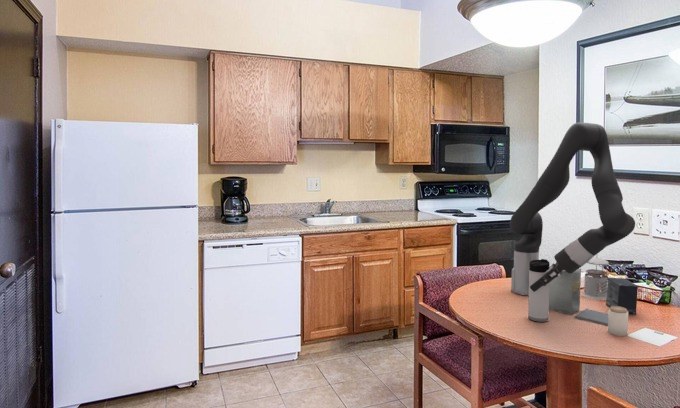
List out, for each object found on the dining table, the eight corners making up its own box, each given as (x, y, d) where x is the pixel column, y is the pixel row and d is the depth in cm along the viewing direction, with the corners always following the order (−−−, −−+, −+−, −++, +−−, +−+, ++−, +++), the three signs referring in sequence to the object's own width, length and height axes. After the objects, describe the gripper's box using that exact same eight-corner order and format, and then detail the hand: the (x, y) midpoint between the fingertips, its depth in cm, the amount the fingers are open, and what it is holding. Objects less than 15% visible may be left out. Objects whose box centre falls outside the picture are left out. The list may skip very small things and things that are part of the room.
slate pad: (574, 317, 151) (574, 315, 151) (586, 310, 157) (586, 308, 157) (607, 325, 143) (607, 323, 143) (617, 318, 150) (618, 315, 150)
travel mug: (552, 319, 150) (554, 260, 148) (541, 323, 146) (542, 263, 144) (535, 314, 155) (536, 257, 153) (524, 318, 151) (525, 260, 149)
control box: (547, 308, 160) (548, 268, 159) (555, 304, 165) (556, 264, 163) (572, 314, 154) (573, 272, 152) (580, 310, 158) (581, 269, 157)
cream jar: (605, 332, 138) (606, 308, 137) (610, 328, 141) (611, 304, 141) (624, 337, 134) (625, 312, 133) (629, 332, 138) (630, 308, 137)
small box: (637, 315, 152) (639, 285, 151) (616, 314, 154) (618, 285, 153) (624, 305, 163) (626, 277, 162) (605, 304, 164) (606, 277, 163)
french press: (576, 294, 176) (578, 232, 173) (591, 289, 182) (594, 229, 180) (601, 301, 168) (604, 236, 165) (617, 295, 174) (620, 232, 171)
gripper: (568, 243, 150) (529, 273, 157) (562, 251, 138) (521, 283, 145) (585, 260, 147) (545, 290, 155) (581, 270, 135) (538, 301, 143)
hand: (533, 286), depth 150 cm, fingers closed on travel mug, 6 cm apart
